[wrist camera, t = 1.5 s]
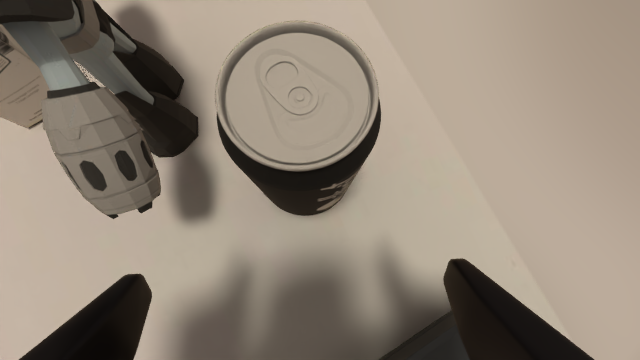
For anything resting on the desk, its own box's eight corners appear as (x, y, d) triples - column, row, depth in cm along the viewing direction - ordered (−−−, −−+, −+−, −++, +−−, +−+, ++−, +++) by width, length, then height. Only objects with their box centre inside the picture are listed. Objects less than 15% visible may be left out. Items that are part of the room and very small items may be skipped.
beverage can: (296, 234, 21) (275, 223, 9) (244, 164, 22) (166, 72, 10) (366, 181, 22) (429, 108, 10) (314, 115, 23) (316, -19, 11)
